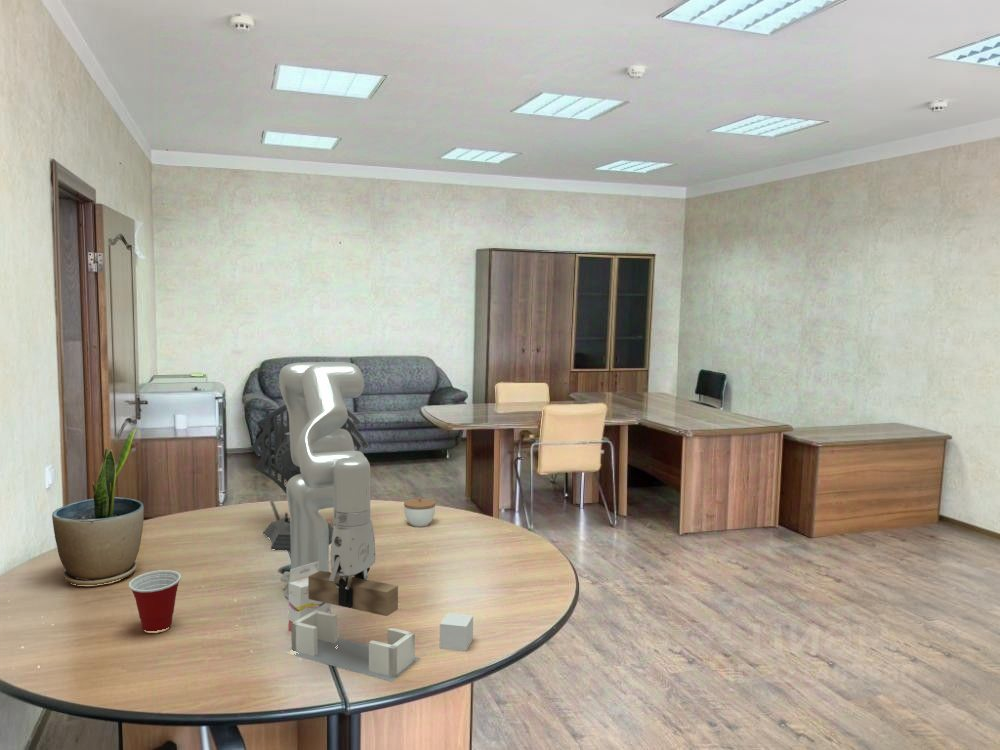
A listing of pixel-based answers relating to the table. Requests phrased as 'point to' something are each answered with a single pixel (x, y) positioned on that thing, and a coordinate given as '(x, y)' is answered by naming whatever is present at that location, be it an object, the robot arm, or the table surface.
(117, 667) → the table surface
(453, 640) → the gray cube
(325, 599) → the brown wooden block
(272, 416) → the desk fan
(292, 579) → the ink cartridge box
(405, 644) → the end cap
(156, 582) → the plastic cup
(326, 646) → the mat
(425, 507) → the lidded jar
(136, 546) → the potted plant
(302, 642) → the end cap
